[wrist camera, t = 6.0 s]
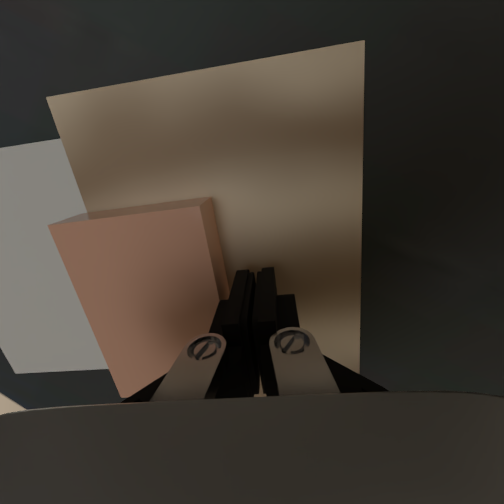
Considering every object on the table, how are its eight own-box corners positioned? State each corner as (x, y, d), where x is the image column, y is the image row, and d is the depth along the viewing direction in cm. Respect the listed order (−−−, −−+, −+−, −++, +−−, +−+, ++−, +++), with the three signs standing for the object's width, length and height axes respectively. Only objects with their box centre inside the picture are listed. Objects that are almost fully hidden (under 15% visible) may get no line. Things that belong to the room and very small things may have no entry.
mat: (-98, 164, 16) (-107, 165, 15) (103, 132, 14) (98, 132, 14) (20, 369, 22) (15, 373, 21) (172, 361, 20) (170, 365, 20)
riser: (105, 111, 14) (45, 97, 10) (337, 71, 13) (364, 40, 9) (181, 371, 20) (161, 420, 17) (341, 363, 19) (358, 415, 15)
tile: (82, 213, 12) (47, 225, 10) (211, 196, 11) (199, 205, 9) (139, 366, 15) (121, 397, 13) (242, 360, 14) (238, 392, 13)
